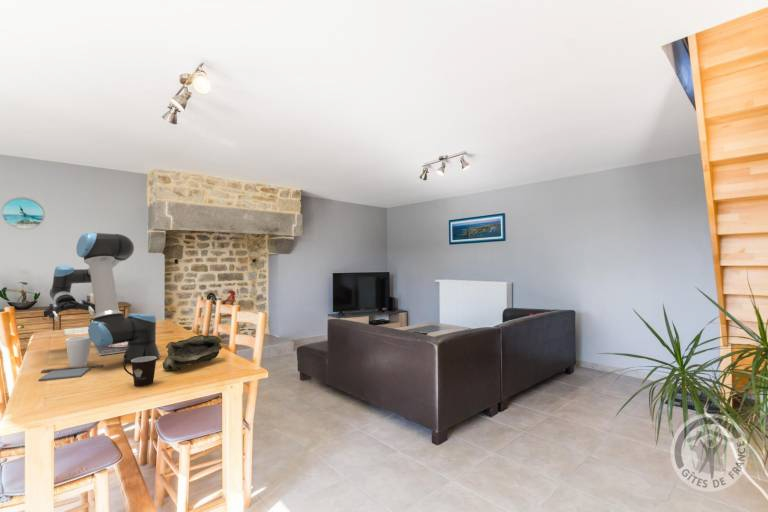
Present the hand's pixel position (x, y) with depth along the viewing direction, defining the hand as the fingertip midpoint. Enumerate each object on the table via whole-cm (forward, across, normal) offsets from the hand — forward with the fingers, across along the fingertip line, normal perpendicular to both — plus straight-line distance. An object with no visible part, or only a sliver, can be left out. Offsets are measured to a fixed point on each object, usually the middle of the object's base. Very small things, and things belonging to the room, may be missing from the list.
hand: (75, 316), depth 176 cm
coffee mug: (+60, -9, -7) cm, 62 cm away
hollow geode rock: (+52, -34, -12) cm, 63 cm away
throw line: (+17, +4, -19) cm, 26 cm away
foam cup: (+12, +1, -21) cm, 24 cm away
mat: (+24, +8, -16) cm, 30 cm away
